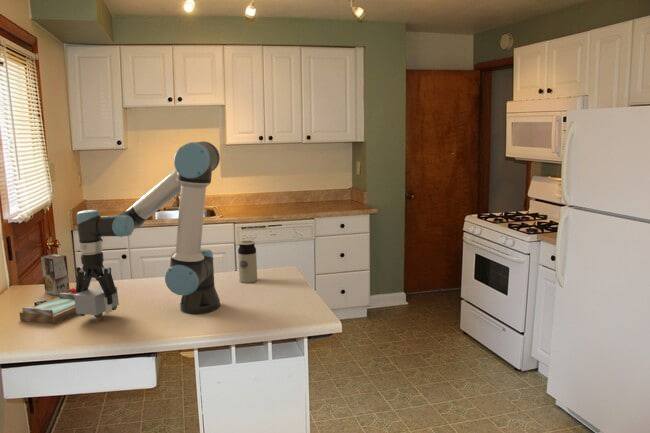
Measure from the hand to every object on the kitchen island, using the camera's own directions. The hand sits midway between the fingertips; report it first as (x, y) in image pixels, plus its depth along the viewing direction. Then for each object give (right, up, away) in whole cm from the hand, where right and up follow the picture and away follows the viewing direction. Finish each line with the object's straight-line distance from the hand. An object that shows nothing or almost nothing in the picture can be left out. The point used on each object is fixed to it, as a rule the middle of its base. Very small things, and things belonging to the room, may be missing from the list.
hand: (98, 311), depth 205 cm
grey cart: (0, 0, 0) cm, 0 cm away
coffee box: (-31, +2, +34) cm, 46 cm away
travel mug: (+50, +6, +45) cm, 67 cm away
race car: (-20, +1, +26) cm, 33 cm away
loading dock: (-18, -2, +6) cm, 20 cm away
